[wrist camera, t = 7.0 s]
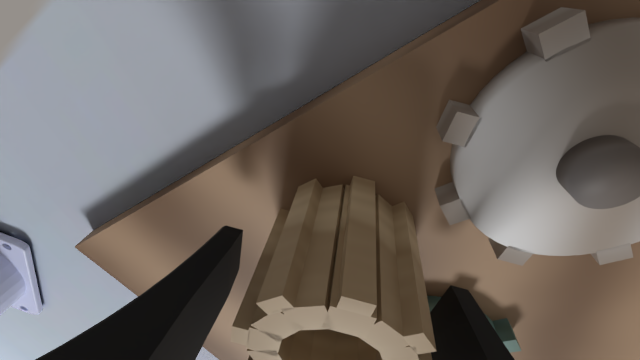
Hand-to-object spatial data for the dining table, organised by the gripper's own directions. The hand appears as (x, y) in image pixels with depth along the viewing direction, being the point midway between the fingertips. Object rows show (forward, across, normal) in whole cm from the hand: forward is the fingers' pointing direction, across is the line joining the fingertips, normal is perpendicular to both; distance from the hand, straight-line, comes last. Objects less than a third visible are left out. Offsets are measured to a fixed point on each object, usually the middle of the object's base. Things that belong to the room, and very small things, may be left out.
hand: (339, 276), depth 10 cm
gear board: (+3, -3, +3) cm, 5 cm away
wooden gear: (+2, 0, 0) cm, 2 cm away
